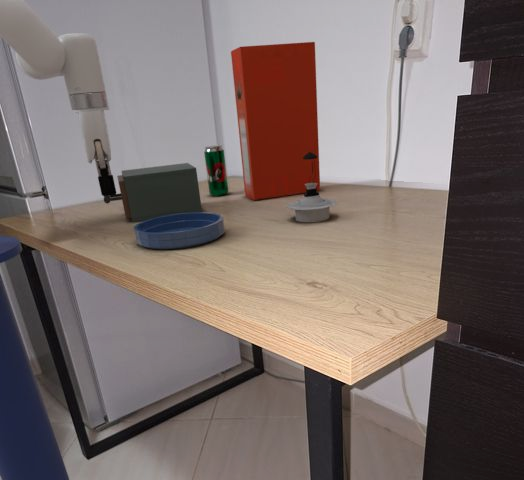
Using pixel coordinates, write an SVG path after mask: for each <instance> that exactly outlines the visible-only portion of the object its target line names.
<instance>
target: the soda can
mask: <svg viewBox="0 0 524 480" xmlns="http://www.w3.org/2000/svg"><path fill="white" fill-rule="evenodd" d="M204 160H205V169H206V177H207V185H208V193H209V195H210V196H211V197H223V196H224V197H225V196H227V195H228V193H229V183H228V175H227V165H226V157H225V150H224V148H223V146H222V145H210V146H205V147H204Z"/></svg>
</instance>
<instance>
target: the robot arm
mask: <svg viewBox="0 0 524 480" xmlns="http://www.w3.org/2000/svg"><path fill="white" fill-rule="evenodd" d="M0 38H1V39H2V40H4V42H5V43H7V45H8V46H10V47H11V48H12V49H13V51H14V52H15V59H16V62H17V65H18V67H19V68H20V70H21V71H22V72H23V73H24V74H25V75H27V76H28V77H29V78H32V79H34V80H39V81H43V80H45V81H46V80H49V79H53V78H59V77H63V78H64V82H65V87H66V91H67V95H68V100H69V103H70V104H69V105H70V107H71V108H70V109H71V112H72V114H77V116H78V120H79V121H78V122H79V127H80V132H81V137H82V142H83V145H84V149H85V154H86V159H87V162H88V163H89V164H92V163H93V161H94V162H95V166H96V171H97V175H98V176H97V181H98V185H99V189H100V194H101V196H103V197H104V196H106V195H115V194H117V189H116V184H115V178H114V174H112V170H111V166H110V161H111V160H112V151H111V150H112V149H111V142H110V135H109V130H108V124H107V120H106V116H105V111H110V106H109V100H108V96H107V91H106V90H107V89H106V85H105V80H104V76H103V71H102V66H101V61H100V57H99V52H98V46H97V43H96V40H95V37H94V36H93V35H92V34H89V33H86V32H70V33H64V34H61V35H59V36H57V35H56V34H55V32H54V31H53V30H52V29H51V28H50V27H49V25H48V24H47V23H45V21H44V20H43V19H42V18H41V17H40V16H39V15H38V13H36V12H35V10H34V9H33V8H32V7H31V6H30V5H29V4H28V3H27V2H26V1H25V0H0Z"/></svg>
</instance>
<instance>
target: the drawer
mask: <svg viewBox="0 0 524 480" xmlns="http://www.w3.org/2000/svg"><path fill="white" fill-rule="evenodd" d="M116 178H117V182H118V186H119V191H120V193H116V194H115V195H106V196H103V202H104V203H105V204H110V203H111V202H115V201H121V202H122V207H123V211H124V216H125V219H132V218H131V212H130V207H129V202H128V197H127V192H126V187H125V182H124V179H123V176H122V174H120V175H119V174H118V175H117V177H116Z"/></svg>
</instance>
